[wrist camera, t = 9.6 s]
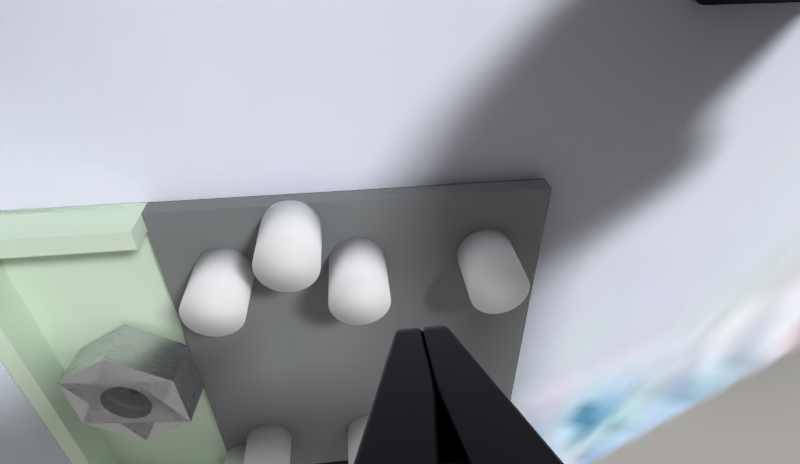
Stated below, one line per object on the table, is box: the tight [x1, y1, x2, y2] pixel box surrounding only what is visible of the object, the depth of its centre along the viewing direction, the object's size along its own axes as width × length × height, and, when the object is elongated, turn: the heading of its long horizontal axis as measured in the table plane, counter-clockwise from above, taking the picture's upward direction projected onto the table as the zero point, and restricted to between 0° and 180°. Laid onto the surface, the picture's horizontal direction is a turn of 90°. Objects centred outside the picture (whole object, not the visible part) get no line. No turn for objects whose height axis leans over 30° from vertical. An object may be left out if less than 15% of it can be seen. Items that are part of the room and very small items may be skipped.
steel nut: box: [57, 325, 204, 441], centre depth 23 cm, size 5×6×2 cm
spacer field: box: [0, 179, 551, 464], centre depth 24 cm, size 23×18×3 cm
